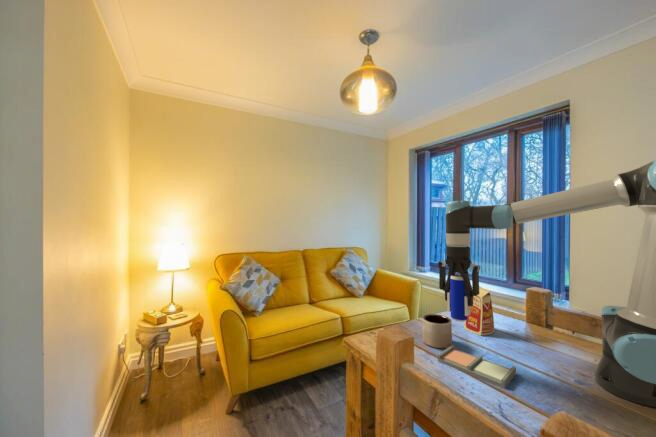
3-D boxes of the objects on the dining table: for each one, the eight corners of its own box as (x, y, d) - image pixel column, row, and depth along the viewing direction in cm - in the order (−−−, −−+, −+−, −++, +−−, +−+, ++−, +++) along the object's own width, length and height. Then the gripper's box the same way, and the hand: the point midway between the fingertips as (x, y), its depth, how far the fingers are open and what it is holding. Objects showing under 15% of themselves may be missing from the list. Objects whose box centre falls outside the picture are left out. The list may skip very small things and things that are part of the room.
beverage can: (469, 322, 89) (468, 277, 89) (452, 321, 90) (452, 277, 90) (464, 316, 94) (464, 274, 94) (449, 316, 95) (448, 274, 95)
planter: (446, 337, 111) (446, 314, 111) (456, 350, 100) (456, 324, 100) (419, 336, 112) (419, 313, 112) (426, 349, 101) (426, 323, 101)
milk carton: (464, 328, 119) (463, 284, 119) (477, 325, 123) (477, 281, 123) (483, 336, 111) (482, 288, 111) (497, 332, 114) (496, 286, 115)
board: (516, 373, 84) (515, 366, 84) (504, 388, 77) (504, 380, 77) (452, 350, 99) (452, 344, 99) (437, 361, 92) (437, 354, 92)
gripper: (491, 246, 88) (492, 317, 87) (437, 243, 101) (438, 304, 101) (482, 248, 83) (483, 323, 83) (427, 244, 97) (428, 308, 96)
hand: (458, 312), depth 92 cm, fingers closed on beverage can, 5 cm apart
